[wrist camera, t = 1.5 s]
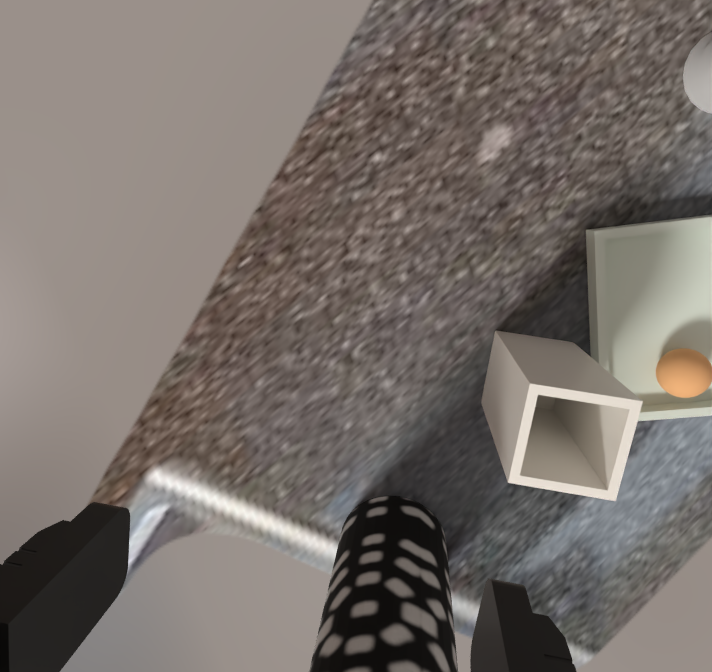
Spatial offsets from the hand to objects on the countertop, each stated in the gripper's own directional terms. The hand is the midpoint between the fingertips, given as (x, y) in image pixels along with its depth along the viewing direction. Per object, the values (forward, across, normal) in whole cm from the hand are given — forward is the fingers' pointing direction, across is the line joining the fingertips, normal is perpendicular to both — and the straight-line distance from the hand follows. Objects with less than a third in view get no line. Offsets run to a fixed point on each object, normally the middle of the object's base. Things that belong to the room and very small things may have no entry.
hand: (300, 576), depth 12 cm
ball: (+26, +20, 0) cm, 33 cm away
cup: (+28, +11, -2) cm, 30 cm away
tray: (+28, +19, +3) cm, 34 cm away
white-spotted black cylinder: (+28, +4, -18) cm, 33 cm away
